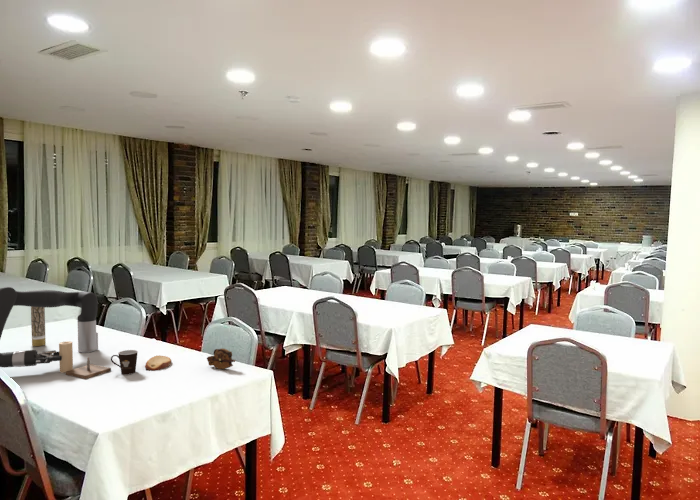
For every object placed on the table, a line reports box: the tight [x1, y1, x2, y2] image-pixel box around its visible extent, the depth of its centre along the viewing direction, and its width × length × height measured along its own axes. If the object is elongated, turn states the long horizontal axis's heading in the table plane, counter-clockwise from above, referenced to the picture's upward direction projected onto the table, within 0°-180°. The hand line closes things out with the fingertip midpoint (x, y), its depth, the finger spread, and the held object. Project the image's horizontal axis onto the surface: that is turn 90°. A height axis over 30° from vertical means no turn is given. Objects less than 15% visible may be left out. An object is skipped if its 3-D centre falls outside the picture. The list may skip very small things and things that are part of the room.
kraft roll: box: [58, 341, 74, 374], centre depth 251 cm, size 5×5×14 cm
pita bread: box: [144, 355, 172, 372], centre depth 264 cm, size 18×18×4 cm
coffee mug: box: [110, 349, 139, 375], centre depth 251 cm, size 12×9×10 cm
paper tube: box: [30, 307, 47, 347], centre depth 299 cm, size 7×7×25 cm
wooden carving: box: [206, 348, 236, 370], centre depth 258 cm, size 16×5×10 cm, turn 70°
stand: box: [65, 357, 112, 380], centre depth 249 cm, size 14×14×8 cm
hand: (63, 355), depth 251 cm, fingers open, 8 cm apart
